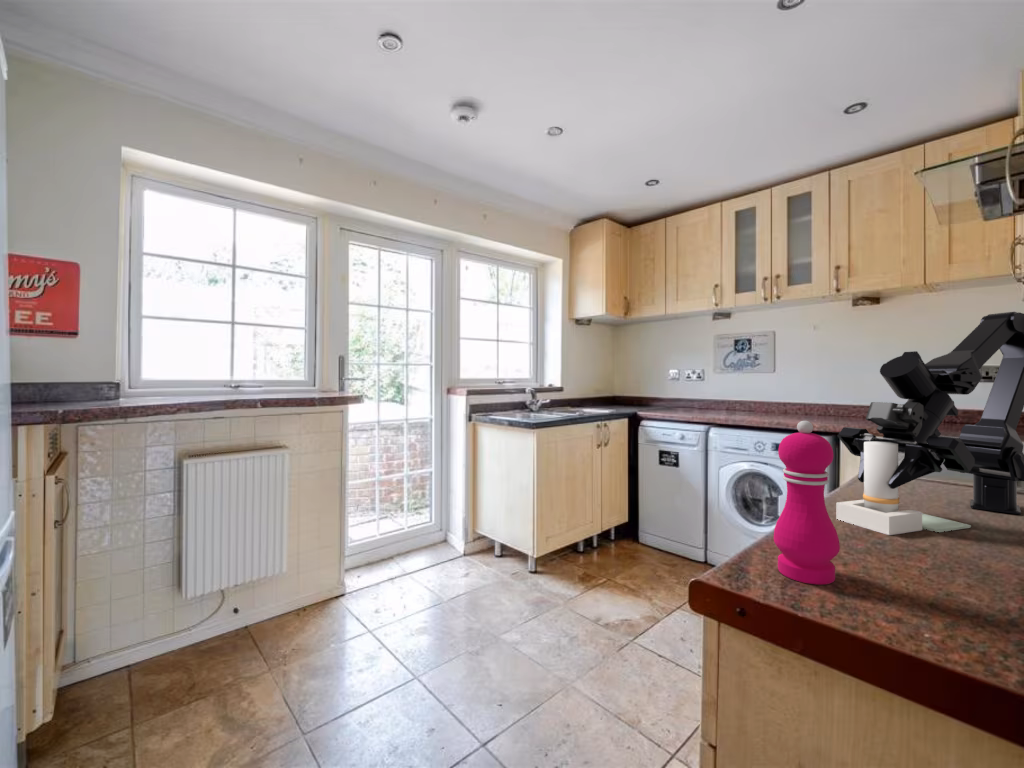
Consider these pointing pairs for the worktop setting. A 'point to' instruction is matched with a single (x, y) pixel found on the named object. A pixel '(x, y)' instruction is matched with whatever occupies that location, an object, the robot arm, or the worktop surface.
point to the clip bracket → (879, 518)
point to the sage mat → (941, 524)
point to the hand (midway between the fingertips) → (874, 483)
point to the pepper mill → (806, 510)
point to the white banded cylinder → (880, 476)
